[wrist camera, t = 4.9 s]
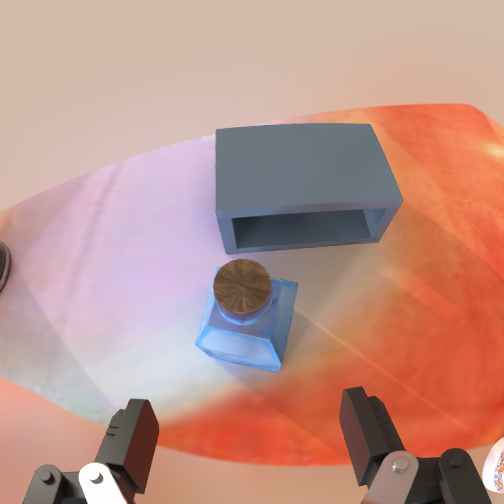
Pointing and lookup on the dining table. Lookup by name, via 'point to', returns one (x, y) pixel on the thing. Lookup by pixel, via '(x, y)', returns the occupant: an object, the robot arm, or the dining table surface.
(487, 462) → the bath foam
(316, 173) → the shelf
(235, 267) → the perfume bottle
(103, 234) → the dining table surface
